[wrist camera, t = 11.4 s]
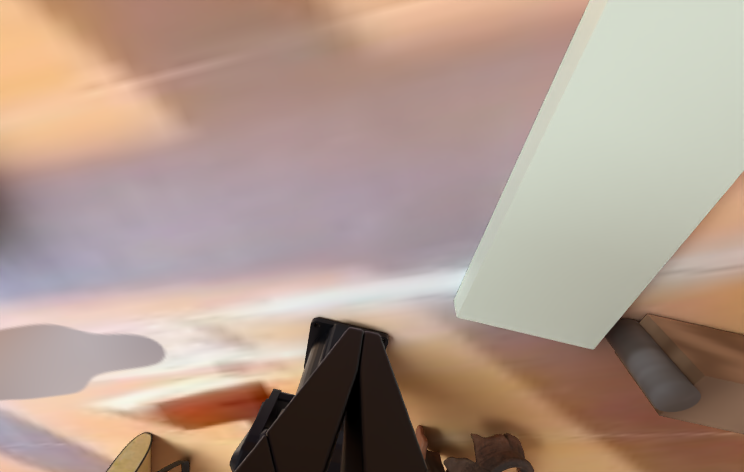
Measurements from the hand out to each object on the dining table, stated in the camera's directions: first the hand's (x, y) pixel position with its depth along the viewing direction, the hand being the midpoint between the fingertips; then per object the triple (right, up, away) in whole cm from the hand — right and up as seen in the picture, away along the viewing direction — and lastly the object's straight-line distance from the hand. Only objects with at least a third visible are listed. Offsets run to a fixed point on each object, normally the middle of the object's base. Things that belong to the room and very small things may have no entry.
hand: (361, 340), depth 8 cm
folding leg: (+25, -6, +15) cm, 30 cm away
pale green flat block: (+13, +5, +10) cm, 18 cm away
